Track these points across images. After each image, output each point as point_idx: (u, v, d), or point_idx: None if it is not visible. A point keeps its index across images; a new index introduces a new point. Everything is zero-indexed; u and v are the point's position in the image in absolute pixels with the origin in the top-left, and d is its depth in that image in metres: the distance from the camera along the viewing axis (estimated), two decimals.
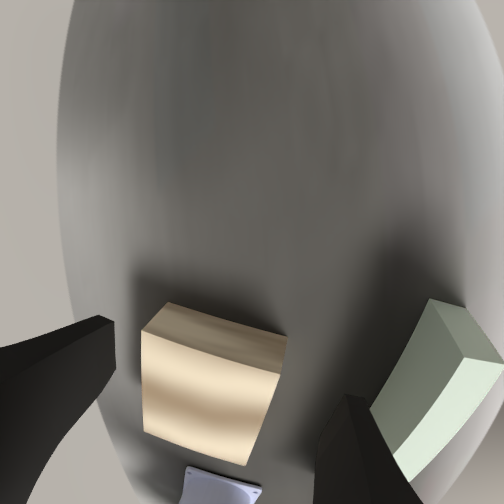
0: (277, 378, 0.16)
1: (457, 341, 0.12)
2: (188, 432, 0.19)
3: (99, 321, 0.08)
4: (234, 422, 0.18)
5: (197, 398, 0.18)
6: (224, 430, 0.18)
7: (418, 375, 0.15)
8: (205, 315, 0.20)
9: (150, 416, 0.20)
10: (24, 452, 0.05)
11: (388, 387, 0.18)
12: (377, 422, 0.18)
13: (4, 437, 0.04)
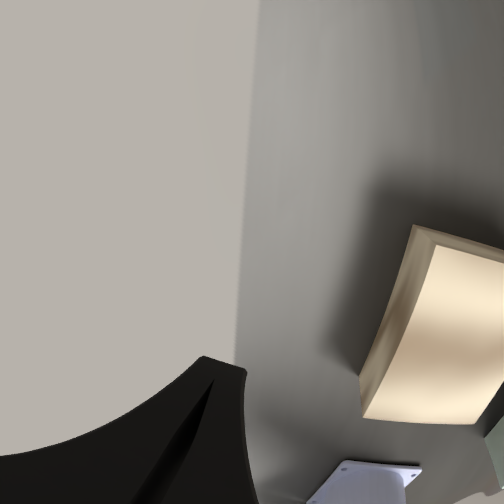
0: None
1: None
2: (434, 396, 0.14)
3: (210, 364, 0.08)
4: (496, 359, 0.12)
5: (472, 336, 0.12)
6: (480, 376, 0.13)
7: None
8: (456, 236, 0.14)
9: (389, 389, 0.14)
10: None
11: None
12: None
13: None
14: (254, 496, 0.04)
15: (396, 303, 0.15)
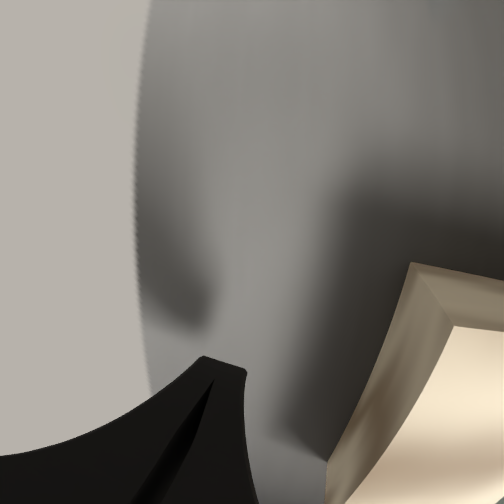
0: None
1: None
2: None
3: (210, 364, 0.08)
4: None
5: (494, 444, 0.06)
6: (496, 479, 0.06)
7: None
8: (483, 278, 0.08)
9: None
10: None
11: None
12: None
13: None
14: (254, 496, 0.04)
15: (377, 392, 0.09)
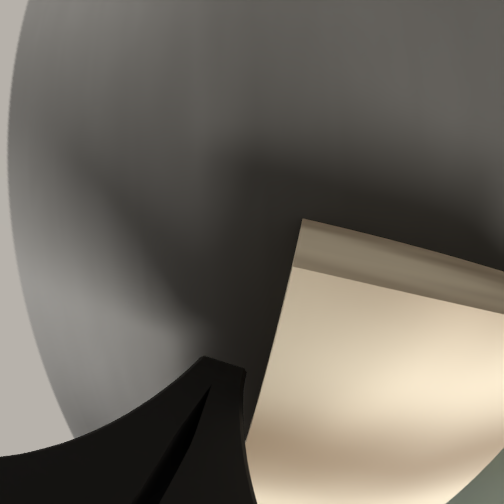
0: None
1: None
2: None
3: (211, 364, 0.08)
4: (454, 464, 0.06)
5: (403, 440, 0.06)
6: (422, 485, 0.07)
7: None
8: (395, 243, 0.08)
9: None
10: None
11: None
12: None
13: None
14: (253, 496, 0.04)
15: (268, 360, 0.09)
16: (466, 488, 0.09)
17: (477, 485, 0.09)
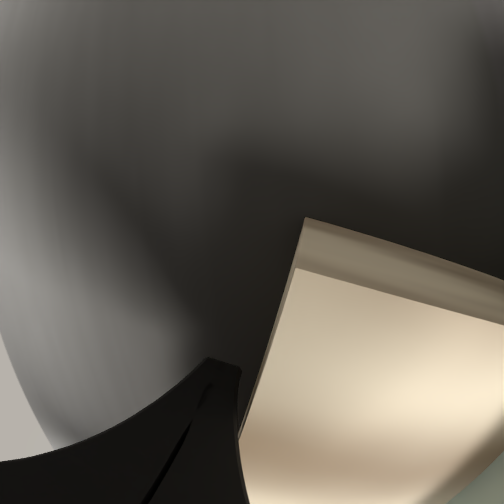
0: None
1: None
2: None
3: (215, 365, 0.08)
4: (445, 473, 0.06)
5: (397, 447, 0.06)
6: (413, 493, 0.07)
7: None
8: (397, 248, 0.08)
9: None
10: None
11: None
12: None
13: None
14: (245, 494, 0.04)
15: (263, 361, 0.09)
16: None
17: None
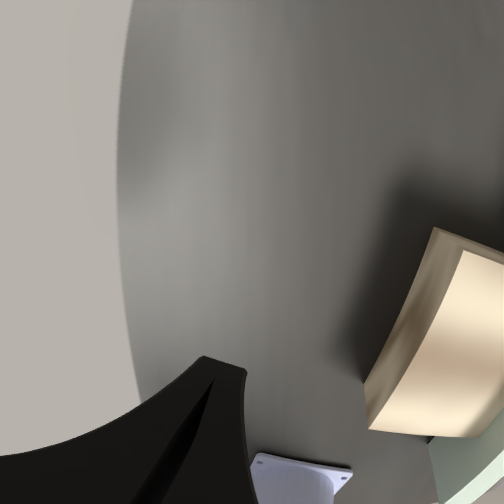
0: None
1: None
2: (444, 409, 0.13)
3: (210, 364, 0.08)
4: None
5: (488, 348, 0.11)
6: (491, 389, 0.12)
7: None
8: (476, 242, 0.13)
9: (399, 400, 0.13)
10: None
11: None
12: None
13: None
14: (254, 496, 0.04)
15: (412, 309, 0.14)
16: None
17: None
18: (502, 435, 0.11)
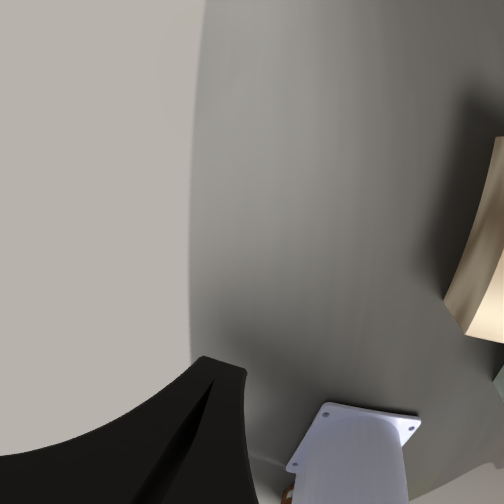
0: None
1: None
2: None
3: (210, 364, 0.08)
4: None
5: None
6: None
7: None
8: None
9: (494, 295, 0.12)
10: None
11: None
12: None
13: None
14: (254, 496, 0.04)
15: (490, 207, 0.13)
16: None
17: None
18: None
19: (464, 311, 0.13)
